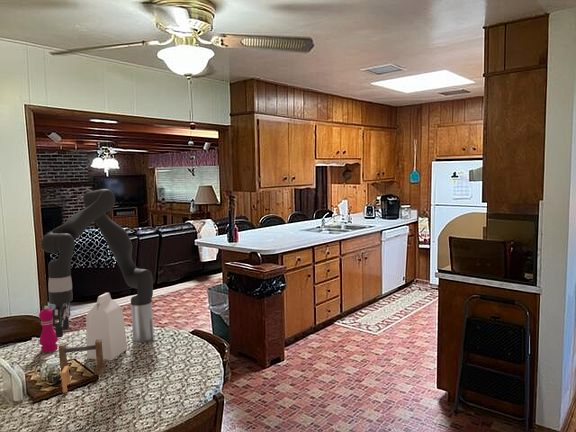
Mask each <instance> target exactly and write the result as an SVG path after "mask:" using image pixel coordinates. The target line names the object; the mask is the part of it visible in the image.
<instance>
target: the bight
mask: <svg viewBox="0 0 576 432" xmlns="http://www.w3.org/2000/svg"><path fill="white" fill-rule="evenodd" d="M69 367H70V366H69V365H67V366H65V367H64V369H63V370H62V372H61V377H62V380H61V385H62V393H63V394H65V393H68V387H67V384H68V383H70V384H71V380H70V379H71V378H70V377H71V376H70V373H69Z"/></svg>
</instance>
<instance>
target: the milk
mask: <svg viewBox="0 0 576 432" xmlns="http://www.w3.org/2000/svg"><path fill="white" fill-rule="evenodd" d="M85 320H86V322H85V323H86V324H85V325H86V326H85V327H86V346H92V345H95V341H96V340H99V339H102V352H103V360H106V361H107V360H108V361H112V360H114V359H115V358H116V357H118V356H119V355H120V354H122V353H124V352H126V350H128V349H129V348H128V342H127V340H128V339H127V334H126V327H125V326H126V325H125V318H124V310H123V308H122V306H121V305H120V304H118V303H117V302H116V300H114V299H112V297H111V293H110V292H104V293H103V294H101V295H99V296H97V300H96V303H95V304H94V306H93V307H92V308H91V309H90V310H89V311H88V312H87V314H86V318H85ZM86 359H91V360H92V359H93V360H96V349H94V350H86Z"/></svg>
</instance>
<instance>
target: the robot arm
mask: <svg viewBox="0 0 576 432" xmlns="http://www.w3.org/2000/svg"><path fill="white" fill-rule="evenodd" d="M115 197H116V196H115V194H114V192H113V191H112V190H110V189H107V188H101V189H95V190H91V191H86V192H85V193H84V195H83V198H82V202H83V204H84V207H85V208H83V209H81V210H79V211H77V212H76V213H74V214H73V215H72V216H70V217H69V218H68V219H66V221H65V222H63V224H61V225H60V226H57V227H56V228H54V229H52V230H50V231H49V232H47V233H46V234H45V235H44V236H43V238H42V240H41V242H40V246H41V249H42V250H43V251H44V252H45V253H49V254H59V256H58V258H56V259H52V260H50V261H49V262H48V265H47V266H48V267H47V268H48V287H47V288H48V301H49V304H51V305H55V307H54V309H52V310H53V311H52V314H53V328H55V329H54V331H55V333H56V337H57V338H58V339H59V338H63V336H64V331H66V330H67V331H68V330H69V328H70V321H69V320H70V316H71V303H70V302H72V301H73V300H74V299H73V281H72V271H71V270H72V269H71V264H72V263H71V262H72V258H73V254H74V250H75V245H76V242H75V240H76V239H78V238H79V237H80V236H81V235H82V234H83V233H84V232H85V230H87V228H89V227H90V226H91V225H92V224H93V223H95V224H96V226H97V227H98V230H99V231H100V232H101V234H102V236H103V238H104V239H105V242H106V244H107V246H108V248H109V250H110V251H111V253H112V254H113V256H114V258H115V261H116V263H117V264H118V266H119V268H120V272H121V273H122V277H123V279H124V281H125V284H126V285H127V286H128V287H130V288H132V289H137V291H136V292H137V293H136V295H134V296H131V298H130V311H131V326H132V340H133V342H136V343H143V342H144V343H145V342H149V341H151V340H152V341H153V340H154V336H155V331H154V329H155V327H154V316H153V304H152V303H153V301H152V299H153V295H154V279H153V278H154V277H153V273H152V271H150V270H149V269H145V268H138V267H137V265H136V264H135V262H134V260H133V256H132V253H133V243H132V241H131V238H130V236H129V235H128V233H127V231H126V230H125V229H124V228H123V227H122V226H121V225H119V224H118V223H116V222H115V221H113V220H112V219H110V217H109V216H108V214H107V212H109V211H111V210H112V209H113V208H114V206H115V204H116V198H115Z"/></svg>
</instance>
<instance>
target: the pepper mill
mask: <svg viewBox="0 0 576 432" xmlns="http://www.w3.org/2000/svg"><path fill="white" fill-rule="evenodd" d="M53 310H54V309H51V308H49V306H48V305H44V307H43V309H42V310H41V311H40V312H39V314H38V318H39V320H41V321H40V325H41V327H42V330H41V334H40V337H39V340H38V341H39V344H40V345H41V349H40V350H41V352H42V353H50V352H54V351H56V350H58V344H57V343H58V339H59V337H58V338H57V337H56V330H55V329H54V327H53V314H52V311H53Z"/></svg>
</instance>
